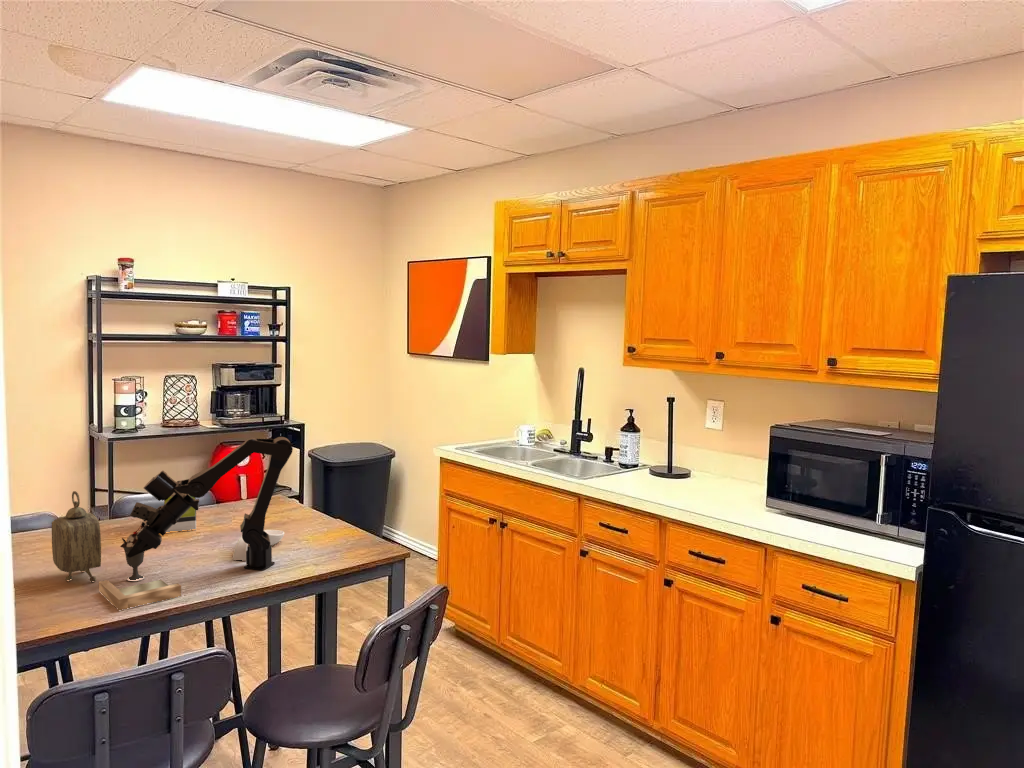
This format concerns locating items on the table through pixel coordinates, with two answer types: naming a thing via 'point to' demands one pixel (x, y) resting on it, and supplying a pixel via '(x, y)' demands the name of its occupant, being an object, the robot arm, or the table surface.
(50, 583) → the table surface
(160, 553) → the table surface
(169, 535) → the table surface
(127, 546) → the sundae
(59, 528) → the tabletop clock
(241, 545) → the spoon rest
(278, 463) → the robot arm
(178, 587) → the corner tray
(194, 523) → the tea box
